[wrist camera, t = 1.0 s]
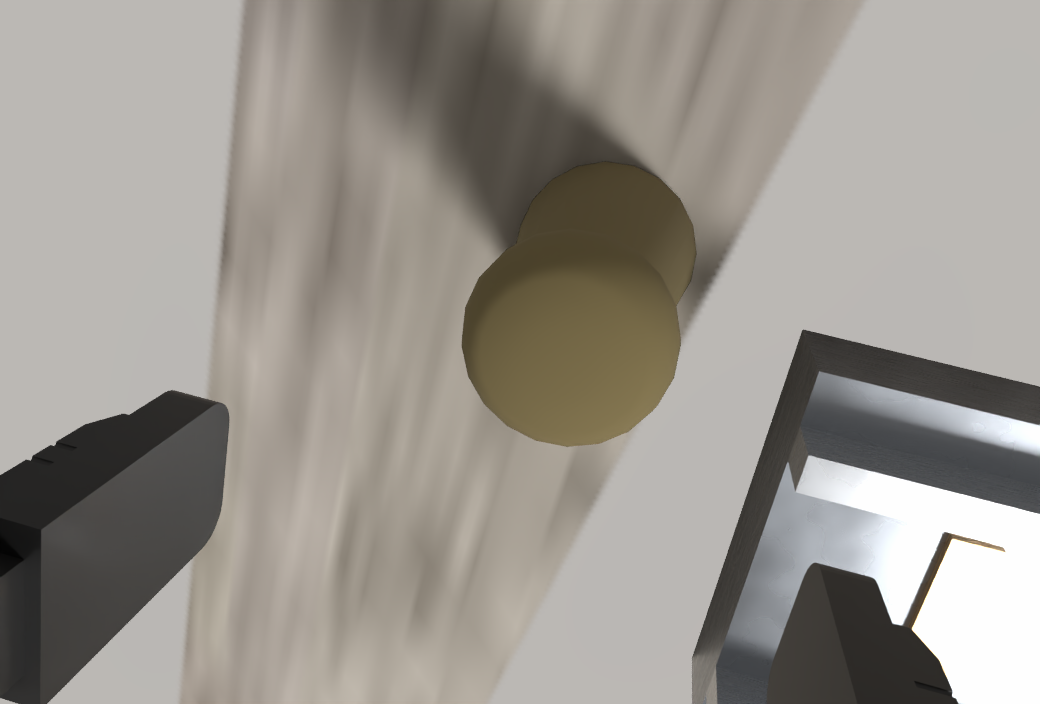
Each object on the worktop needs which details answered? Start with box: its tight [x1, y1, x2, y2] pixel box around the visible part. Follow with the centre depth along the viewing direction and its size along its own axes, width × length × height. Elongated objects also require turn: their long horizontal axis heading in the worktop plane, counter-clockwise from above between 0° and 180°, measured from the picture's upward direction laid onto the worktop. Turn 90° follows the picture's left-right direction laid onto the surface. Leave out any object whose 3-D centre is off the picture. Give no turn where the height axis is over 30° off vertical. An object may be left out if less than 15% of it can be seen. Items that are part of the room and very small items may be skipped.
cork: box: [462, 162, 696, 447], centre depth 24 cm, size 6×6×11 cm
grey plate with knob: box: [692, 330, 1040, 704], centre depth 28 cm, size 14×12×6 cm
